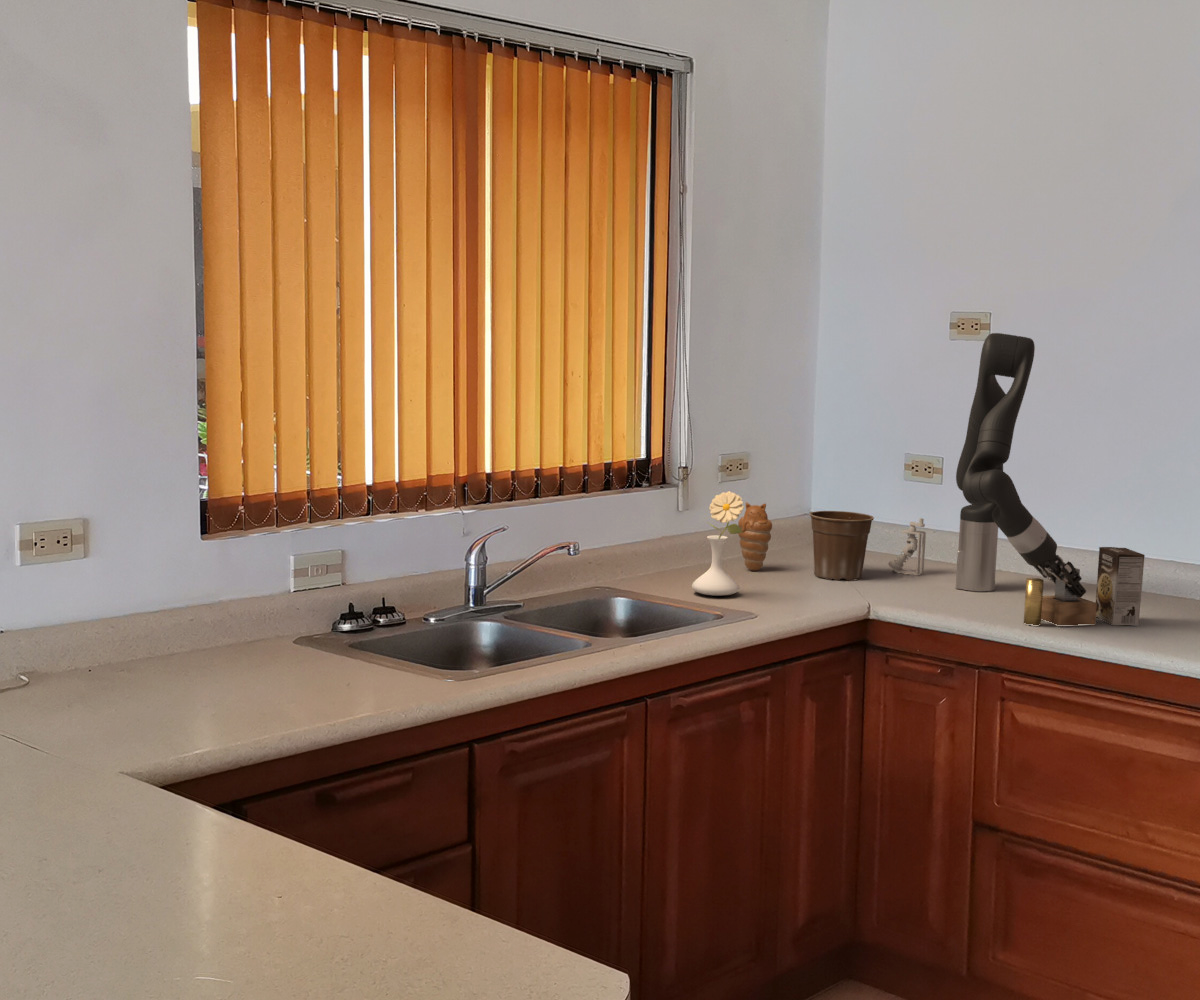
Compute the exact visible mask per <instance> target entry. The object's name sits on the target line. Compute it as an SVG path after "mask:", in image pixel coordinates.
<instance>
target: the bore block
mask: <svg viewBox="0 0 1200 1000" xmlns="http://www.w3.org/2000/svg"><path fill="white" fill-rule="evenodd" d="M1096 607H1097V603H1096V601H1092V600H1089V599H1085V598H1083V597H1081V598H1080V597H1078V602H1062V601H1059V600H1056V599H1055V594H1054V595H1043V598H1042V615H1041V619H1043V620H1046V621H1049V622H1052V623H1054V624H1057V625H1078V624H1095V625H1096V622H1097V621H1096V619H1097V618H1096Z"/></svg>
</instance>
